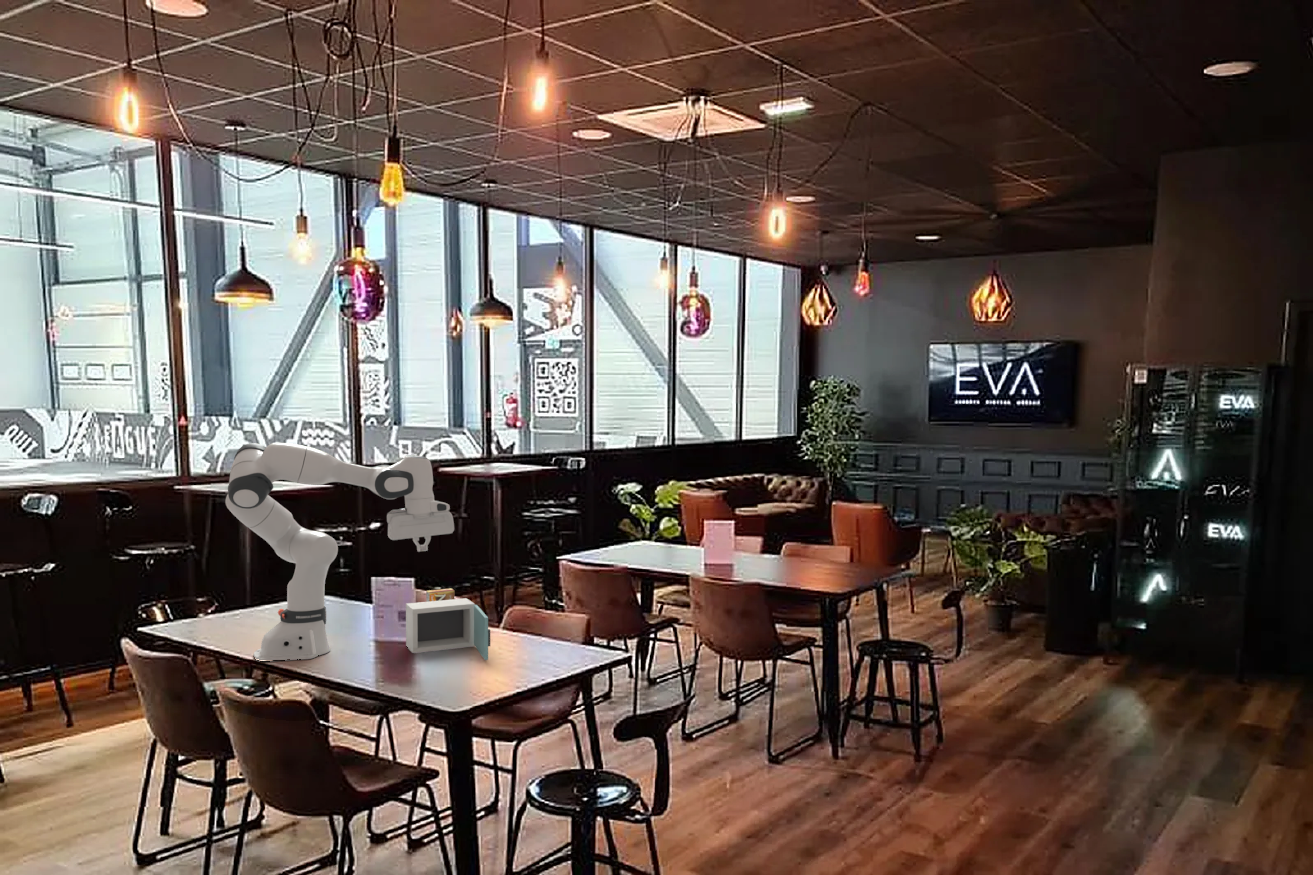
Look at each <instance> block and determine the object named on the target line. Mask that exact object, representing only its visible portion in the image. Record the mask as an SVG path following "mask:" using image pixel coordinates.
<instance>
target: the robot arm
mask: <svg viewBox="0 0 1313 875" xmlns="http://www.w3.org/2000/svg"><path fill="white" fill-rule="evenodd" d="M279 480H280V481H281V480H282V481H283V480H284V481H288V482H293V483H297V484H304V485H311V486H312V485H313V486H322V485H326V484H329V483H344V484H347V485H348V484H349V485H353V486H358V487H363V488H365V489H368V490H369V491H371V492H372V493H373V494H374V495H377V496H379V497H381V498H383V499H386V500H395V499H397V498H402V497H404V504H405V505H404V506H405V507H404V508H399V509H392V510H390V511H388V512H387V513H386V522H387V536H388V537H387V538H389V539H390V541H391V540H392V541H398V540H405V539H412V541H413V543H414V544H415V546H416V550H417V551H416V552H418V553H420V552H426V551H427V552H428V550H429V549H428V548H429V546H428V545H429V544H430V542H431V539H432V536H440V535H450V534H453V532H454V531H455V523H454V517H453V514H452V513H451V512H450V510H451V508H450V507H451V506H450V504H448V503H446V502H443V501H439V500H435V495H434V491H433V485H434V476H433V467H432V462H431V461H430V459H428V458H427V457H426V456H420V455H414V454H413V455H411V454H409V455H408V454H407V455H405V456H404V457H403V458H402V459H400V460H399V461H397V462H395V463H394V464H392V465H389V464H381V465H376V466H366V465H365V466H364V465H360V464H355V463H349V462H346V461H342V460H341V459H338V458H336V457H334V456H333V455H331V454H330V453H327V452H326V451H323V450H320V449H318V448H314V447H312V446H311V447H310V446H308V445H307V446H306V445H302V444H296V443H287V442H272V443H270V444H268V445H267V446H265V445H263V444H260V443H257V442H256V443H255V442H250V443H247V444H244V445H242V446H241V447H239V449H238V450H237V452H236V453H235V455H234V458H233V463H232V464H231V468H230V472H229V480H228V485H227V495H226V497H225V506H226V508H227V509H228V510H229V512H231V514H232V515H233V516H234V517H236V518H235V519H237V520H239V522H240V523H242V524H243V525H244V526H245V527H246V528H249V530H251V531H252V532H253V533H255V534H256V535H257V536H259V537H260V538H262V539H263V541H266V543H267V544H268V545H270V547H271V548H272V549H273V550H274V553H275V554H276V555H277V556H278V557H280V559H282V560H284V561H286V562H289V563H293V564H295V569H294V573H293V576H292V578H291V579H290V580H289V582H288V584H287V586H286V587H287V588H286V591H287V592H286V593H287V594H286V595H287V596H286V600H287V601H286V602H287V604H286V605H287V608H286V609H284V608H280V609H279V610H278V611H277V614H278V616H280V621H279V622H278V623H277V624H276V625H274V626H273V627H272V628H271V629H270V630H268V631H267V632H266V633H265V634H264V635H263V637H262V640H261V645H260V648H258V649H256V650H255V651H254V652H253V656H254V657H255V658H256V659H259V660H285V661H288V660H287V659H290V660H289V661H300V660H299V659H301V660H311V659H314V658H316V657H319V656H321V655H325V654H327V653H329V652H330V651H331V648H330V644H329V641H328V637H327V636H328V635H327V630H326V624H327V608H326V605H325V593H326V592H325V591H326V590H325V584H326V578H327V575H328V572H329V569H330V565H331V564H332V563H333V562H334V561H335V559H336V558H337V555H338V552H339V547H338V546H339V545H338V543H337V541H336V539H335V538H333V536H330V535H329V534H327V533H325V532H323V531H319V530H318V531H317V530H312V529H308V528H305V527H303V526H301V525H300V524H299V523H298V522H297V521H296V519H294V516H293V514H292V512H290V511H289V510H288V509H287V508H286V507H284V506H283V505H282V504H280V503H279V502H278V501H277V500H275V499H274V498H273V497H271V496H270V495H269V494H270V493H271V492H272V490H273V489H274V484H273V483H274V482H276V481H279ZM420 538H424V539H425V542H424V543H423V544H420V543H419V541H420ZM318 655H319V656H318ZM254 657H253V658H254ZM297 659H298V660H297Z"/></svg>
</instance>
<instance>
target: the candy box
mask: <svg viewBox="0 0 1313 875" xmlns="http://www.w3.org/2000/svg"><path fill="white" fill-rule="evenodd" d="M455 594H456V593H455V590H454V589H453V588H442V589H431V590H430V589H429V590H426V601H425V602H429V601H440V600H452V599H455Z"/></svg>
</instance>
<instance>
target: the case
mask: <svg viewBox="0 0 1313 875" xmlns="http://www.w3.org/2000/svg"><path fill="white" fill-rule="evenodd" d="M474 605H476V604H475V603H474V602H473V601H471V600H470V599H468V598H466V597H465V598H454V599H452V600H440V601H429V602H426V601H421V602H419V601H418V602H408V603H407V602H406V603H405V646H407V647H408V648H407V647H406V648H407V649H408V650H409V651H410V653H412V654H419V653H420V654H421V653H427V652H428V653H429V652H437V651H445V650H452V649H453V650H454V649H455V650H456V649H462V648H463V649H464V648H471V647H475V646H474Z"/></svg>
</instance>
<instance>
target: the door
mask: <svg viewBox="0 0 1313 875" xmlns="http://www.w3.org/2000/svg"><path fill="white" fill-rule="evenodd" d="M473 647H475V648H476V650H477V652H478V653H479V654H480V656H481V657H482V658H483V660H484V661H489V647H491V629H490V628H489V617H488V615H487V614H485V612H484V611H483V610H482V608H480V606H478V604H475V605H474V646H473Z"/></svg>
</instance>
